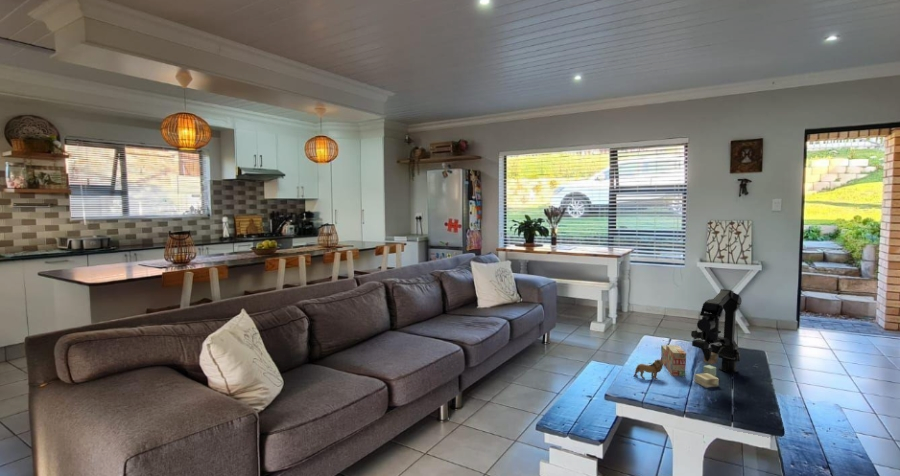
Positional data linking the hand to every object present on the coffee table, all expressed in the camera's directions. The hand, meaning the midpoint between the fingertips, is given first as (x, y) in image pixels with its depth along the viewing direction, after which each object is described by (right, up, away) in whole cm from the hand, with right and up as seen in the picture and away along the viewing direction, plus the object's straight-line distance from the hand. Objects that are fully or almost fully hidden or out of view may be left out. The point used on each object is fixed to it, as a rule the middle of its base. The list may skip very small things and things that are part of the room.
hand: (710, 360), depth 215 cm
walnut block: (0, -1, 0) cm, 1 cm away
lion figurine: (-25, -11, +10) cm, 29 cm away
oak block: (-1, -12, +2) cm, 12 cm away
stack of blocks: (-7, -11, +21) cm, 25 cm away
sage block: (+7, -11, +12) cm, 18 cm away
